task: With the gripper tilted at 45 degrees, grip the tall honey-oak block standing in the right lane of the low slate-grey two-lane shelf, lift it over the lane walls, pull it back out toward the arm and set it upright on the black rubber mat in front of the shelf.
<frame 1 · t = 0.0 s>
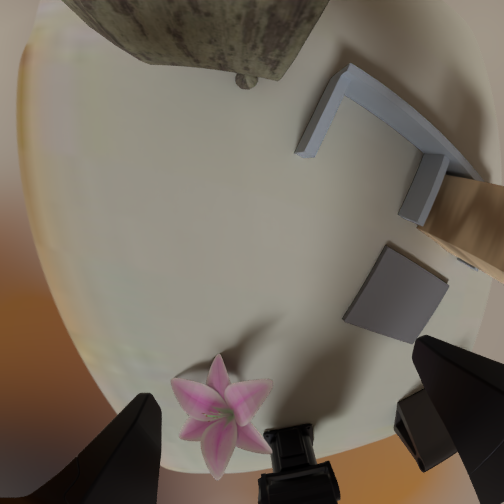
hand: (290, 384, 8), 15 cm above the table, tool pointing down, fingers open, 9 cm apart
lane shelf: (446, 214, 22), on the table
tabletop clock: (226, 24, 16), on the table
lily: (221, 382, 26), on the table
phone stand: (410, 407, 32), on the table
oak block: (445, 214, 22), on the table
rubber mat: (401, 300, 24), on the table
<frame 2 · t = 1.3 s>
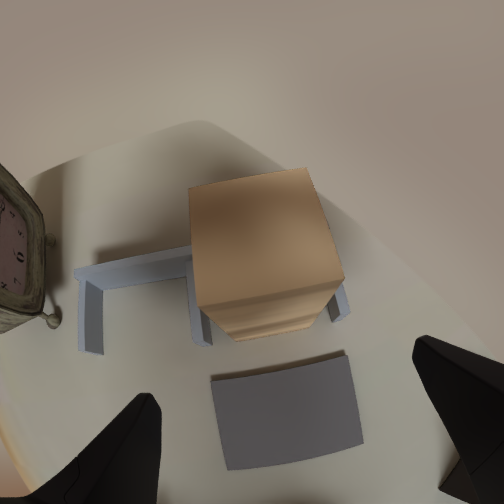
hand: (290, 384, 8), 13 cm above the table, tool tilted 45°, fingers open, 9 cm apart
lane shelf: (266, 300, 23), on the table
tabletop clock: (41, 288, 25), on the table
phone stand: (474, 472, 12), on the table
oak block: (266, 300, 23), on the table
rubber mat: (288, 417, 18), on the table
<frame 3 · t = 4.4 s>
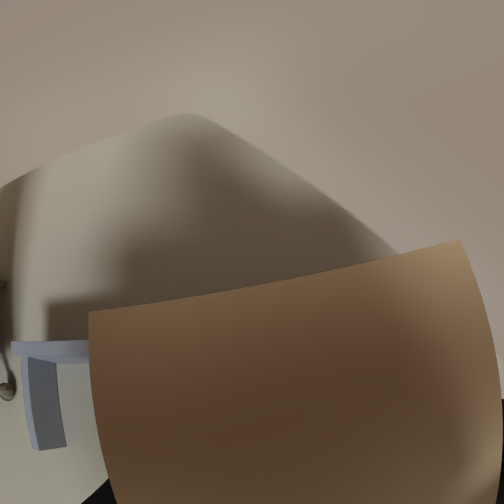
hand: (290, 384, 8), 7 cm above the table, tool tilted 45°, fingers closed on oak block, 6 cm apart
lane shelf: (287, 403, 13), on the table
oak block: (287, 403, 13), on the table, touching gripper
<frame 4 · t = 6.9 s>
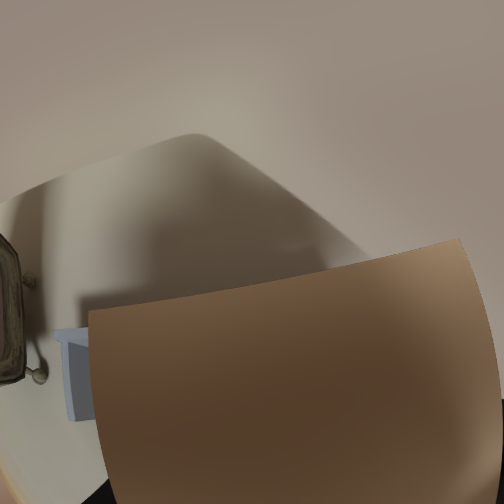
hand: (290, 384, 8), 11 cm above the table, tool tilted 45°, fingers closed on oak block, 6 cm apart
lane shelf: (279, 371, 18), on the table
tabletop clock: (24, 334, 20), on the table
oak block: (287, 402, 13), point 5 cm above the table, touching gripper
when the fingers open (8 cm above the table, at t = 9.7 s): oak block drops 1 cm, resting on rubber mat.
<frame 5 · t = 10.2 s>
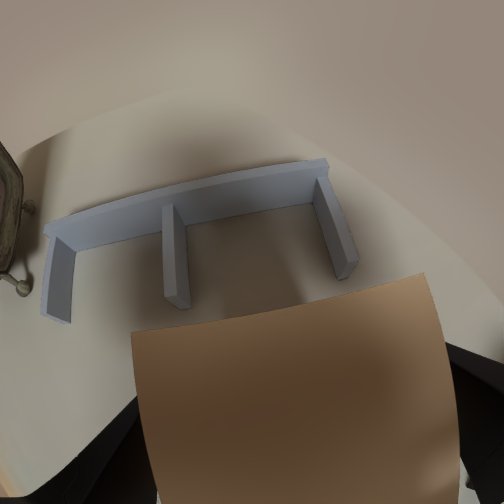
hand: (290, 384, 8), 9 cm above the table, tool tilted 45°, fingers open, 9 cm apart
lane shelf: (257, 254, 19), on the table
tabletop clock: (17, 257, 21), on the table
oak block: (286, 400, 14), resting on rubber mat
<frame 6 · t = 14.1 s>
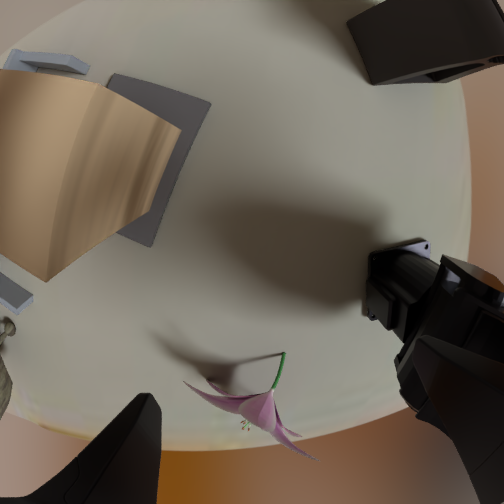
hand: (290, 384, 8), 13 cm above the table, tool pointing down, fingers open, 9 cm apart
lane shelf: (39, 124, 15), on the table
lily: (251, 375, 24), on the table
phone stand: (399, 53, 15), on the table
oak block: (127, 156, 17), resting on rubber mat
rubber mat: (129, 156, 17), on the table
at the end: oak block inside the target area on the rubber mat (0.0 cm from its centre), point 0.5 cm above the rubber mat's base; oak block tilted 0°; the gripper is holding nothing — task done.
